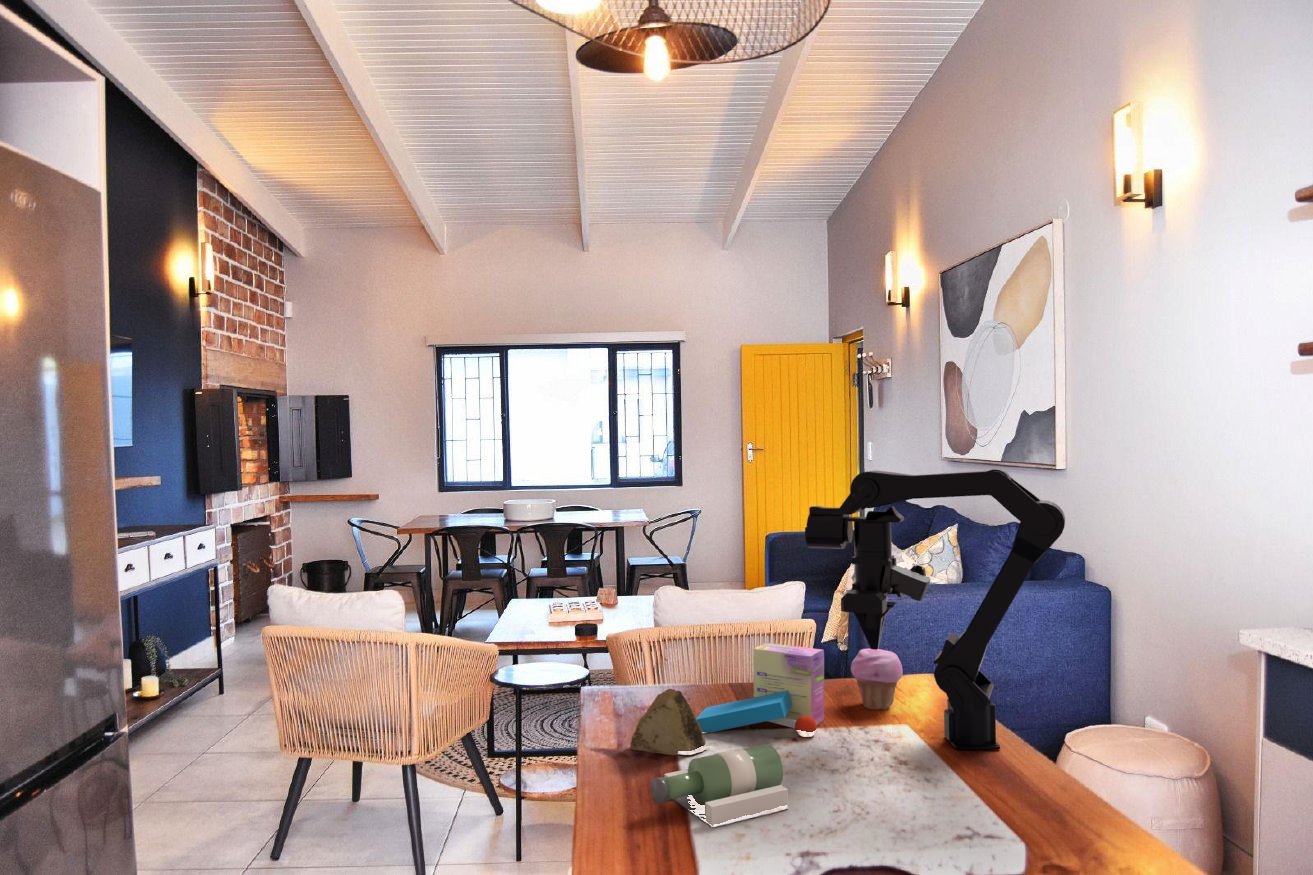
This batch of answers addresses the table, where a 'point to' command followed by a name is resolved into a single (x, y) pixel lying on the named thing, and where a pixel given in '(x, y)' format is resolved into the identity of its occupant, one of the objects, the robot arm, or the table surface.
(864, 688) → the cupcake
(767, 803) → the rest
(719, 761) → the bottle
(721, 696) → the table surface
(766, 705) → the lever
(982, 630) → the robot arm
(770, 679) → the box
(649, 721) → the rock
